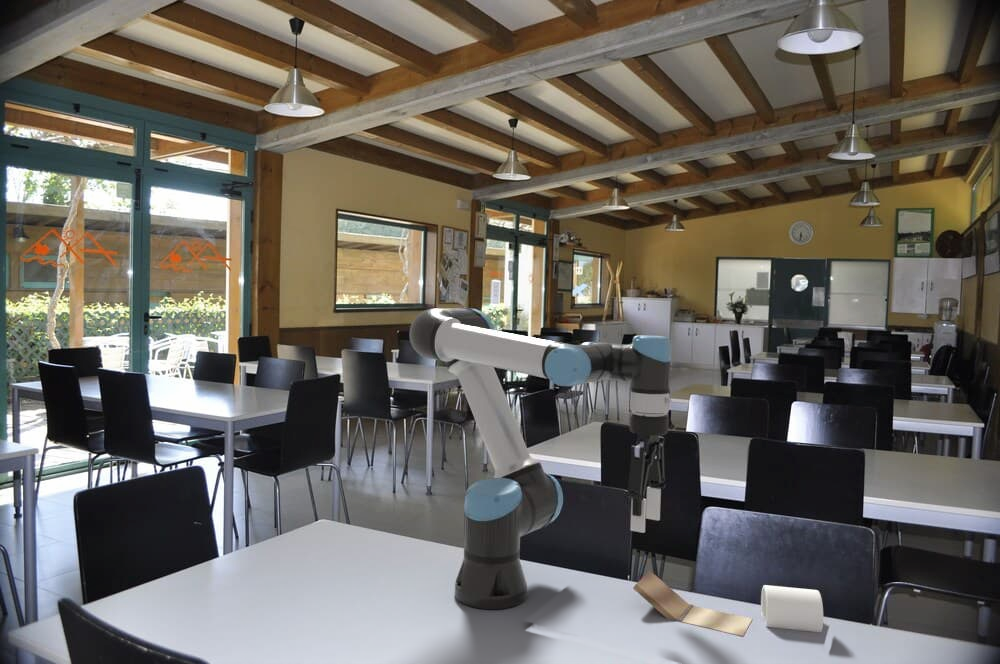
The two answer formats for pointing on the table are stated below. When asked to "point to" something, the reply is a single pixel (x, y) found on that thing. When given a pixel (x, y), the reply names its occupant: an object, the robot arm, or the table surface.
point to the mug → (792, 608)
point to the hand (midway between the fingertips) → (645, 524)
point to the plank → (661, 596)
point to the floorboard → (715, 620)
